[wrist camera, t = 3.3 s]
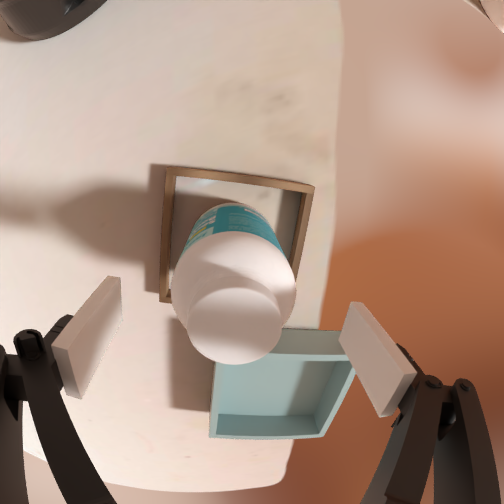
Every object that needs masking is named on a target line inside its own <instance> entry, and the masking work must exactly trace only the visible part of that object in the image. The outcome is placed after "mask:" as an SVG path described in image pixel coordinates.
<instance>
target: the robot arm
mask: <svg viewBox="0 0 504 504" xmlns="http://www.w3.org/2000/svg"><path fill="white" fill-rule="evenodd" d="M106 1H107V0H0V15H1V17H2V18H3V19H4V20H5V22H6V23H7V25H8V27H9V29H10V30H11V31H13V32H14V33H15V34H18V35H20V36H22V37H25V38H27V39H31V40H41V39H47V38H50V37H53V36H56V35H58V34H61V33H63V32H65V31H67V30H69V29H70V28H72V27H74V26H75V25H77V24H79V23H80V22H82V21H83V20H84V19H86V18H87V17H88V16H90V15H91V14H92V13H93V12H95V11H96V10H97V9H98V8H99V7H100V6H102V5H103V4H104V3H105V2H106ZM122 321H123V317H122V302H121V280H120V277H113V276H107V277H106V279H105V280H104V281H103V282H102V283H101V284H100V285H99V287H98V288H97V289H96V290H95V291H94V292H93V294H92V295H91V296H90V297H89V298H88V300H87V301H86V302H85V303H84V304H83V306H82V307H81V308H80V309H79V310H78V312H77V313H76V314H75V315H74V316H72V315H68V314H67V315H65V316H64V317H62V318H60V319H59V320H58V321H57V322H56V323H55V325H54V326H53V327H52V328H51V329H50V331H49V332H48V333H47V334H46V336H45V337H44V338H43V337H42V335H41V333H40V332H39V331H37V330H33V329H26V330H23V331H20V332H19V333H17V334H16V336H15V337H14V341H13V342H14V345H15V348H16V351H17V354H18V355H12V354H6V352H5V349H4V347H3V346H2V345H0V504H29V502H28V495H27V488H26V480H25V471H24V459H23V438H22V412H23V401H28V403H29V407H30V410H31V414H32V417H33V421H34V424H35V427H36V431H37V434H38V437H39V440H40V442H41V445H42V448H43V451H44V453H45V456H46V459H47V461H48V464H49V466H50V469H51V471H52V473H53V475H54V478H55V480H56V482H57V484H58V486H59V489H60V491H61V493H62V495H63V497H64V499H65V501H66V503H67V504H117V503H116V501H115V500H114V498H113V497H112V495H111V494H110V492H109V491H108V489H107V488H106V486H105V485H104V483H103V481H102V479H101V478H100V476H99V474H98V473H97V471H96V469H95V467H94V465H93V464H92V462H91V460H90V458H89V456H88V454H87V452H86V450H85V449H84V447H83V445H82V443H81V440H80V438H79V436H78V434H77V432H76V430H75V428H74V426H73V423H72V421H71V419H70V416H69V414H68V412H67V409H66V407H65V404H64V402H63V399H62V397H61V394H60V391H61V389H62V387H63V386H64V389H65V392H66V395H68V396H71V397H75V398H78V399H82V398H83V395H84V393H85V391H86V389H87V387H88V385H89V383H90V381H91V379H92V377H93V375H94V373H95V371H96V369H97V367H98V365H99V363H100V361H101V359H102V357H103V356H104V354H105V352H106V350H107V348H108V346H109V344H110V342H111V341H112V339H113V337H114V335H115V333H116V331H117V330H118V328H119V326H120V324H121V322H122ZM339 342H340V344H341V346H342V348H343V350H344V351H345V353H346V355H347V357H348V359H349V361H350V362H351V364H352V366H353V368H354V370H355V372H356V374H357V376H358V377H359V379H360V381H361V383H362V385H363V387H364V389H365V391H366V392H367V395H368V397H369V398H370V400H371V402H372V404H373V406H374V408H375V410H376V412H377V414H378V416H379V417H384V416H390V415H393V413H394V411H395V410H396V408H397V407H398V408H399V409H400V411H401V413H400V414H399V415H398V417H397V418H396V420H395V421H394V423H393V424H392V426H391V427H394V428H393V431H392V434H391V437H390V439H389V442H388V444H387V447H386V449H385V452H384V454H383V456H382V459H381V461H380V464H379V466H378V468H377V470H376V472H375V474H374V477H373V479H372V481H371V483H370V485H369V487H368V489H367V491H366V493H365V495H364V497H363V499H362V501H361V503H360V504H420V501H421V498H422V495H423V492H424V488H425V485H426V481H427V477H428V473H429V470H430V466H431V461H432V457H433V460H434V504H501V498H500V490H499V482H498V476H497V470H496V465H495V460H494V455H493V450H492V445H491V441H490V437H489V433H488V429H487V425H486V422H485V418H484V414H483V411H482V408H481V405H480V401H479V398H478V395H477V392H476V389H475V387H474V385H473V384H472V383H471V382H470V381H468V380H467V379H462V378H460V379H457V380H456V381H455V383H454V385H453V386H445V385H443V384H442V382H441V381H440V380H439V379H438V378H436V377H434V376H431V375H425V374H424V373H423V371H422V370H421V369H420V367H419V366H418V365H417V364H416V362H415V361H413V358H412V357H411V356H409V353H408V352H407V351H406V350H405V348H403V347H402V346H400V345H399V344H395V343H394V341H393V340H392V339H391V338H390V336H389V335H388V334H387V333H386V331H385V330H384V329H383V328H382V326H381V325H380V324H379V322H378V321H377V320H376V319H375V318H374V316H373V315H372V314H371V313H370V311H369V310H368V309H367V308H366V307H365V305H364V304H363V303H362V302H351V303H350V306H349V310H348V313H347V316H346V319H345V322H344V325H343V328H342V331H341V334H340V337H339Z"/></svg>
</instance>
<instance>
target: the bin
mask: <svg viewBox="0 0 504 504" xmlns="http://www.w3.org/2000/svg"><path fill="white" fill-rule="evenodd" d="M340 334H341V331H327V330H325V331H324V330H301V329H283V328H282V333H281V336H280V339H279V341H278V343H277V344H276V346H275V347H274V348H273V349H272V350H271V351H270V352H269V353H268V354H267V355H265V356H264V357H262V358H260V359H258V360H256V361H253V362H250V363H245V364H238V365H231V364H223V363H219V362H216V361H215V362H214V371H213V382H212V392H211V402H210V416H209V437H210V438H225V439H254V440H272V439H300V438H314V437H323V436H324V434H325V432H326V430H327V429H328V427H329V425H330V423H331V422H332V420H333V418H334V416H335V414H336V412H337V410H338V409H339V407H340V405H341V403H342V401H343V399H344V397H345V395H346V393H347V391H348V389H349V387H350V385H351V383H352V380H353V378H354V376H355V374H356V372H355V370H354V368H353V366H352V364H351V362H350V361H349V359H348V357H347V355H346V353H345V351H344V350H343V348H342V346H341V344H340V342H339V337H340Z"/></svg>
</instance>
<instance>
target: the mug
mask: <svg viewBox="0 0 504 504" xmlns="http://www.w3.org/2000/svg"><path fill="white" fill-rule="evenodd" d="M480 2H481V4H482V7H483V9H484V10H485V12H486V14H487V15H488V17H489V18H490V20H491V21H492V22H493V24H494V25H495V26H496V27H497V28H498V29H499V30H500V31H501V32H502V33H504V0H480Z"/></svg>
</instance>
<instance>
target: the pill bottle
mask: <svg viewBox="0 0 504 504" xmlns="http://www.w3.org/2000/svg"><path fill="white" fill-rule="evenodd" d="M295 298H296V284H295V279H294V275H293V272H292V269H291V267H290V265H289V263H288V261H287V259H286V257H285V255H284V253H283V250H282V248H281V246H280V244H279V242H278V240H277V238H276V236H275V234H274V232H273V230H272V228H271V226H270V224H269V222H268V221H267V219H266V218H265V217H264V216H263V215H262V214H261V213H260V212H259V211H257V210H256V209H254V208H252V207H250V206H248V205H245V204H241V203H224V204H220V205H217V206H214V207H212V208H210V209H209V210H207V211H206V212H205V213H203V214H202V215H201V216H200V217H199V219H198V220H197V221H196V223H195V225H194V227H193V229H192V231H191V233H190V235H189V238H188V240H187V242H186V245H185V247H184V249H183V252H182V254H181V256H180V258H179V261H178V263H177V265H176V268H175V271H174V274H173V277H172V282H171V300H172V305H173V308H174V310H175V313H176V315H177V317H178V319H179V320H180V322H181V323H182V325H183V326H184V327H185V328H186V329H187V333H188V336H189V339H190V341H191V343H192V344H193V346H194V347H195V348H196V349H197V350H198V351H199V352H200V353H201V354H202V355H204V356H205V357H207V358H209V359H211V360H213V361H216V362H219V363H223V364H231V365H238V364H245V363H250V362H253V361H256V360H258V359H260V358H262V357H264V356H265V355H267V354H268V353H269V352H270V351H271V350H272V349H273V348H274V347H275V346H276V344H277V343H278V341H279V339H280V336H281V333H282V327H283V326H284V324H285V323H286V322H287V320H288V319H289V317H290V315H291V313H292V310H293V307H294V304H295Z"/></svg>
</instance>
